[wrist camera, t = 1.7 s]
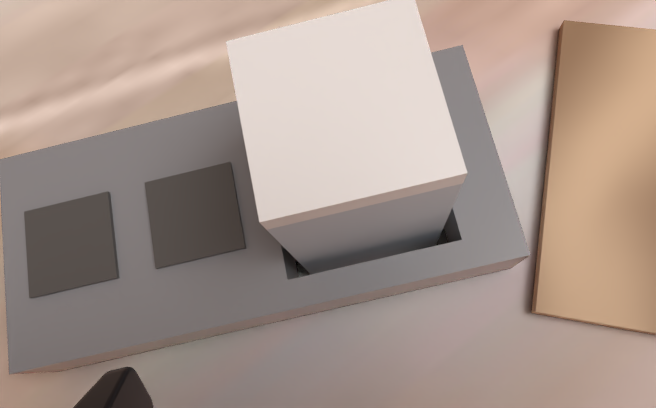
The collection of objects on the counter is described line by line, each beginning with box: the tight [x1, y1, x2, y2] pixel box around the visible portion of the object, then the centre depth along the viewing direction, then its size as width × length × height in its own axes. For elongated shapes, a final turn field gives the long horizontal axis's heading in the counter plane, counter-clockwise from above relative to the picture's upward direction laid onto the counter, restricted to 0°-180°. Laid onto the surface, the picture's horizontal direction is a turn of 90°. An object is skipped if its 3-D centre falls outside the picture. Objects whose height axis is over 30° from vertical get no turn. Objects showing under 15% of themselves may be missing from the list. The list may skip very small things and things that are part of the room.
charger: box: [226, 0, 467, 274], centre depth 18 cm, size 5×5×9 cm
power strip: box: [0, 45, 530, 374], centre depth 21 cm, size 18×8×3 cm, turn 102°
